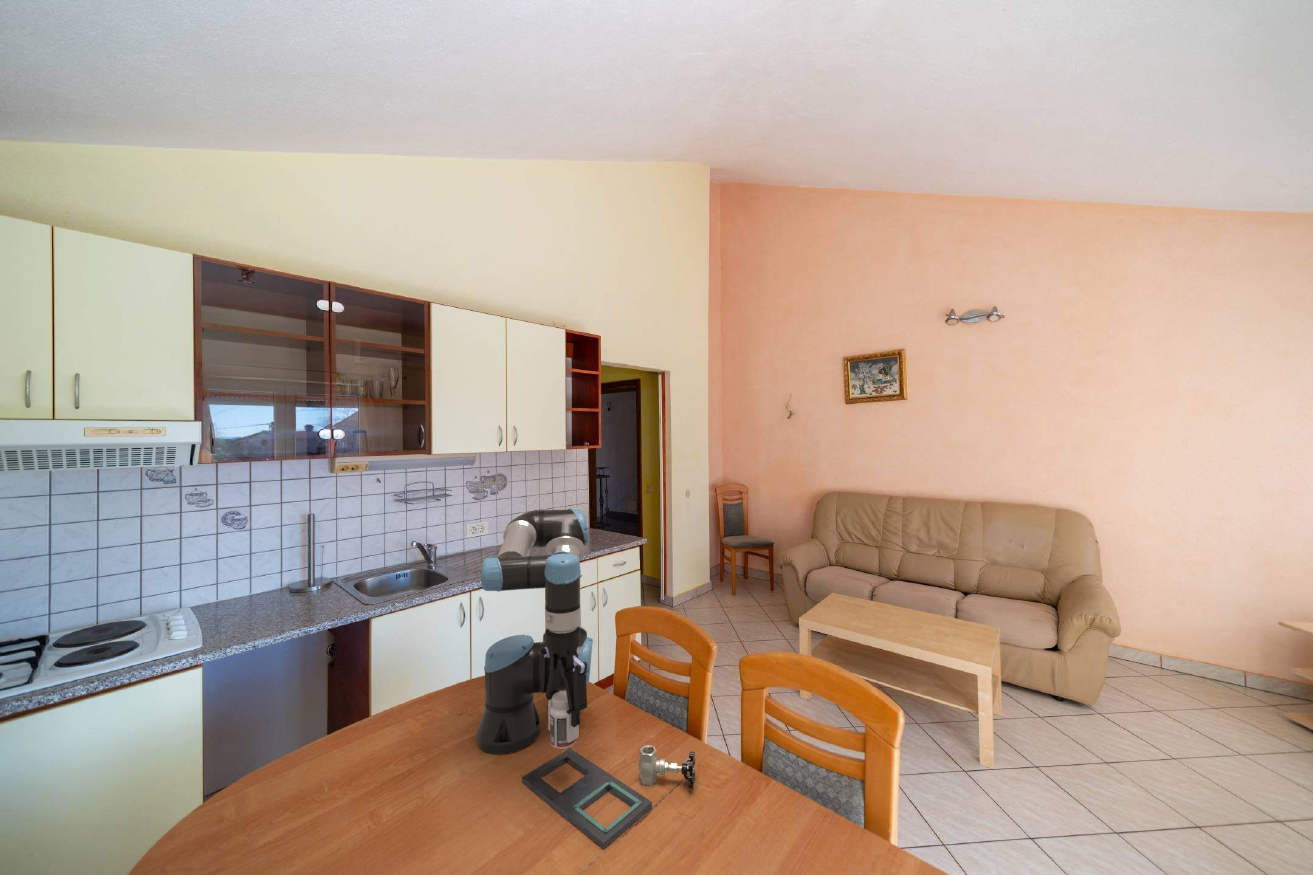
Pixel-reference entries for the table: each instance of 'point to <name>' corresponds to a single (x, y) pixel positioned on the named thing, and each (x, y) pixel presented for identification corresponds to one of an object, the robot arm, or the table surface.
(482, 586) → the robot arm
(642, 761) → the valve
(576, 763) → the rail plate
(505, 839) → the table surface
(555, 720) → the pill bottle
